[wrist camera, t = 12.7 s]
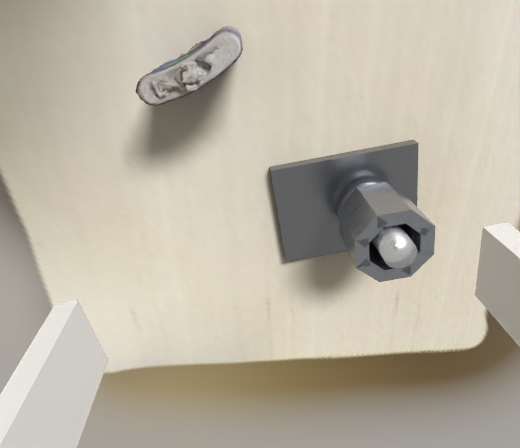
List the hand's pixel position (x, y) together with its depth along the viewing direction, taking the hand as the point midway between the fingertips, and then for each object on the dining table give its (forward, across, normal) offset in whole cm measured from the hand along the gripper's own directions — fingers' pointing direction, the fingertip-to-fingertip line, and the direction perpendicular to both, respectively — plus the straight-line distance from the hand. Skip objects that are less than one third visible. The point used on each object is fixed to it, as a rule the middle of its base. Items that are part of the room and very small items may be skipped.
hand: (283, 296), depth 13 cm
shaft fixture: (+31, +9, -13) cm, 35 cm away
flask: (+31, -4, +5) cm, 32 cm away
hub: (+26, +11, -13) cm, 32 cm away
